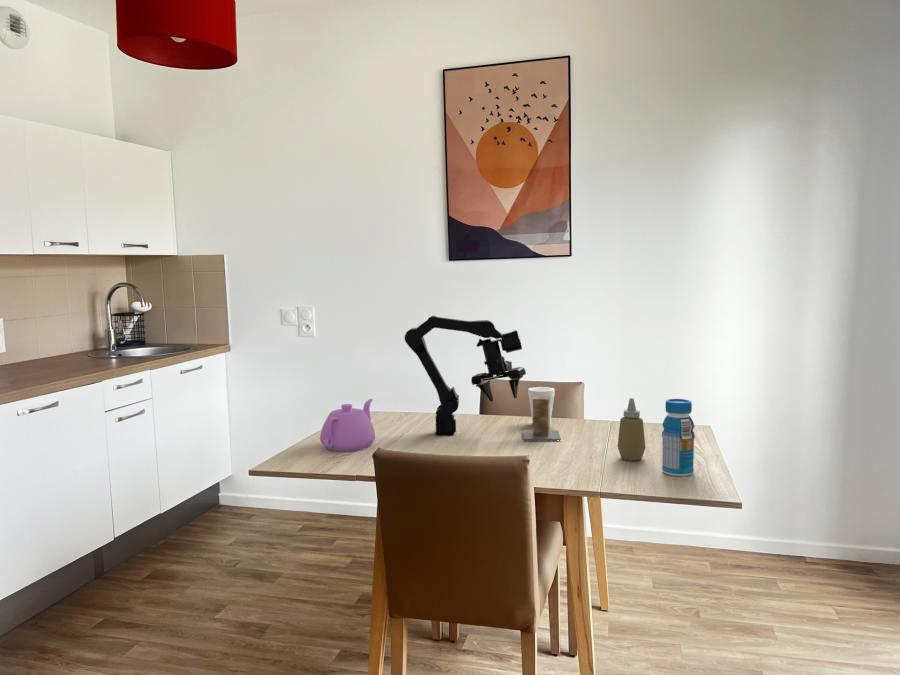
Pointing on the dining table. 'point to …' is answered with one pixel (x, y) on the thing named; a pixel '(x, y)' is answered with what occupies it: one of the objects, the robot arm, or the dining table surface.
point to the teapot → (348, 429)
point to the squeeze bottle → (631, 434)
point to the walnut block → (541, 416)
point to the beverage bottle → (678, 438)
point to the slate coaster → (552, 436)
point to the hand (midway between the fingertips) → (503, 399)
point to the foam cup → (542, 393)
